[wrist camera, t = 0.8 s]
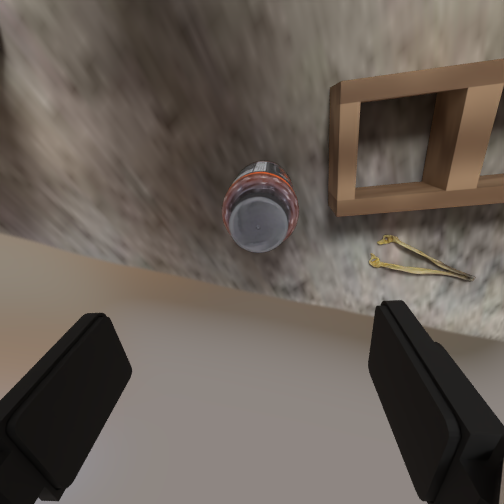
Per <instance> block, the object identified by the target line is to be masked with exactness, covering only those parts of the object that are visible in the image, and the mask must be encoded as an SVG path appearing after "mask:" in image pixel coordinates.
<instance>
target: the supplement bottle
mask: <svg viewBox="0 0 504 504" xmlns="http://www.w3.org/2000/svg"><path fill="white" fill-rule="evenodd" d="M298 216H299V206H298V201H297V197H296V194H295V191H294V189H293V186H292V182H291V179H290V177H289V176H288V174H287V173H286V172H285V170H284V169H283V168H281V167H280V166H279V165H277V164H275V163H273V162H270V161H257V162H254V163H251V164H250V165H248V166H246V167H245V168H244V169H243V170H242V171H241V172H240V174H239V175H238V176H237V178H236V179H235V181H234V182H233V184H232V185H231V187H230V188H229V190H228V192H227V193H226V195H225V198H224V201H223V205H222V217H223V222H224V225H225V227H226V229H227V231H228V232H229V234H230V235H231V236H232V238H233V240H234V241H235V242H236V243H237V244H238V245H239V246H240V247H241V248H243V249H245V250H247V251H250V252H255V253H263V252H268V251H271V250H273V249H275V248H276V247H278V246H279V245H280V244H281V243H282V242H283V241H284V240H286V239H287V238H288V237H289V236H290V235H291V233H292V232H293V230H294V229H295V227H296V224H297V221H298Z"/></svg>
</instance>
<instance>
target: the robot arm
mask: <svg viewBox="0 0 504 504" xmlns="http://www.w3.org/2000/svg"><path fill="white" fill-rule="evenodd" d="M369 354H370V355H369V361H368V368H369V373H370V375H371V378H372V380H373V383H374V386H375V388H376V391H377V393H378V396H379V398H380V401H381V403H382V406H383V409H384V411H385V414H386V416H387V419H388V421H389V424H390V426H391V429H392V431H393V434H394V437H395V439H396V442H397V444H398V447H399V449H400V452H401V455H402V457H403V460H404V462H405V465H406V467H407V470H408V472H409V475H410V477H411V480H412V482H413V485H414V487H415V490H416V492H417V494H418V496H419V498H420V499H421V500H422V501H427V503H428V504H504V426H503V424H502V423H501V422H500V420H499V419H498V418H497V416H496V415H495V414H494V412H493V411H492V410H491V409H490V407H489V406H488V405H487V403H486V402H485V401H484V399H483V398H482V397H481V395H480V394H479V393H478V392H477V390H476V389H475V388H474V386H473V385H472V384H471V382H470V381H469V380H468V378H466V376H465V375H464V373H463V372H462V371H461V369H460V368H459V367H458V365H457V364H456V363H455V362H454V360H453V359H452V358H451V356H450V355H449V354H448V352H447V351H446V350H445V349H444V347H443V346H442V345H440V344H439V343H437V342H434V341H433V340H432V339H431V337H430V336H429V335H428V333H427V332H426V331H425V329H424V328H423V327H422V325H421V324H420V323H419V321H418V320H417V318H416V317H415V316H414V314H413V313H412V312H411V310H410V309H409V308H408V306H407V305H406V304H405V302H404V301H402V300H396V301H383V302H382V303H381V306H376V309H375V316H374V324H373V332H372V339H371V346H370V353H369ZM131 374H132V368H131V365H130V363H129V361H128V358H127V356H126V353H125V351H124V349H123V347H122V344H121V342H120V340H119V338H118V336H117V333H116V331H115V329H114V326H113V324H112V322H111V320H110V318H109V317H107V316H106V315H105V314H104V313H87V314H85V315H83V316H82V317H81V318H80V319H79V320H78V321H77V322H76V323H75V324H74V325H73V326H72V327H71V328H70V329H69V330H68V332H66V333H65V334H64V335H63V337H62V338H61V339H60V340H59V341H58V342H57V343H56V344H55V345H54V346H53V347H52V348H51V349H50V350H49V351H48V352H47V353H46V354H45V355H44V356H43V357H42V358H41V359H40V360H39V361H38V362H37V363H36V364H35V365H34V367H32V369H30V370H29V372H28V373H27V374H26V375H25V376H24V377H23V378H22V379H21V380H20V381H19V382H18V383H17V384H16V385H15V386H14V387H13V388H12V389H11V390H10V391H9V392H8V393H7V394H6V395H5V396H4V397H3V398H2V399H1V400H0V504H34V503H35V501H36V500H37V498H38V497H39V498H40V499H41V500H42V501H59V500H60V498H61V496H62V494H63V493H64V491H65V489H66V488H68V487H69V486H70V485H71V484H72V483H73V481H74V479H75V478H76V476H77V474H78V472H79V470H80V468H81V467H82V465H83V463H84V461H85V459H86V458H87V456H88V454H89V452H90V450H91V448H92V447H93V445H94V443H95V441H96V439H97V438H98V436H99V434H100V432H101V430H102V428H103V427H104V425H105V423H106V421H107V419H108V418H109V416H110V414H111V412H112V410H113V408H114V407H115V405H116V403H117V401H118V399H119V398H120V396H121V394H122V392H123V390H124V388H125V387H126V385H127V383H128V381H129V379H130V377H131Z"/></svg>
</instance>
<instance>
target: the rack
mask: <svg viewBox="0 0 504 504" xmlns="http://www.w3.org/2000/svg"><path fill="white" fill-rule="evenodd" d="M503 86H504V59H497V60H490V61H483V62H476V63H468V64H461V65H454V66H447V67H440V68H433V69H425V70H418V71H411V72H404V73H397V74H390V75H382V76H375V77H368V78H361V79H354V80H347V81H341V82H339V83H337V84H336V85H334V86H332V87H330V125H329V186H328V205H329V206H330V208H331V209H332V211H333V212H334V214H335V215H336V217H341V216H353V215H364V214H376V213H388V212H400V211H412V210H424V209H435V208H447V207H459V206H471V205H483V204H495V203H504V174H495V175H485V176H480V173H481V169H482V165H483V161H484V158H485V154H486V150H487V146H488V143H489V139H490V135H491V131H492V128H493V124H494V120H495V116H496V113H497V109H498V105H499V101H500V98H501V94H502V90H503ZM434 93H437V96H436V102H435V108H434V114H433V120H432V125H431V131H430V137H429V143H428V149H427V154H426V160H425V166H424V172H423V178H422V182H412V183H401V184H391V185H380V186H370V187H360V188H355V184H356V167H357V151H358V135H359V119H360V103H365V102H372V101H380V100H388V99H396V98H403V97H411V96H419V95H426V94H434Z"/></svg>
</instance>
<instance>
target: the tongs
mask: <svg viewBox="0 0 504 504" xmlns="http://www.w3.org/2000/svg"><path fill="white" fill-rule="evenodd" d="M385 237H387V238H388V240H385ZM390 242H395V243H397V244H400V245H402V246H404V247H405V248H408V249H410V250H412V251H414V252H416V253H418V254H420V255H422V256H424V257H425V258H427V259H429V260H431V261H432V262H433V263H435V264H436V265H438V266H440V267H442V268H444V269H447V270H449V271H446V272H445V271H437V270H431V269H423V268H414V267H403V266H399V265H394V264H387V263H383V262H380V259H379V258H378V257H376V256H375V255H374V254H372V253H371V259H370V260H369V264H370V265H372V266H373V267H377V268H379V267H381V266H382V267H387V266H389V265H392V266H389V267H387V268H390V269H395V270H401V271H405V272H409V273H415V274H439V275H447V276H453V277H457V278H461V279H465V280H468V281H473V280H474V279H475V278H476V277H474V276H472V275H469V274H466V273H464V272H461V271H458V270H456V269H453V268H451V267H449V266H447V265H445V264H444V263H442V262H440V261H438V260H435V259H433V258H431V257H429V256H427V255H426V254H424V253H423V252H421V251H419V250H417V249H415V248H413V247H411V246H409V245H407V244H405V243H403V242H401V241H400V240H399V239H398V237H396V236H392V235H384V236H383V239H382V240H380V241H378V242H377V243H378V244H387V243H390ZM372 259H376V260H375V261H373V262H372V261H371V260H372Z"/></svg>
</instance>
